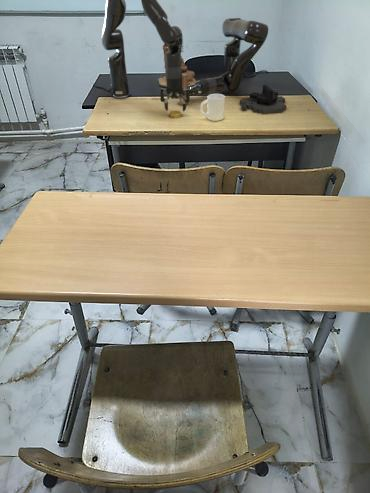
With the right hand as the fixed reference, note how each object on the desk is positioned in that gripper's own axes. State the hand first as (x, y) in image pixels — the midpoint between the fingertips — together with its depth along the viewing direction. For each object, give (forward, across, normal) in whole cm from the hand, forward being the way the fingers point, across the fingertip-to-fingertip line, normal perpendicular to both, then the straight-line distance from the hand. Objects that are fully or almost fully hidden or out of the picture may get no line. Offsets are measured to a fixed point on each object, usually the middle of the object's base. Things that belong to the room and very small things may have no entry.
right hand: (179, 91), depth 188 cm
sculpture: (-19, -36, +7) cm, 42 cm away
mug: (-3, +27, +7) cm, 28 cm away
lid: (+10, +13, +5) cm, 17 cm away
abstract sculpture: (-35, +28, +7) cm, 46 cm away
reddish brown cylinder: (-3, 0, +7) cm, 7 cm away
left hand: (+9, +13, +4) cm, 16 cm away
